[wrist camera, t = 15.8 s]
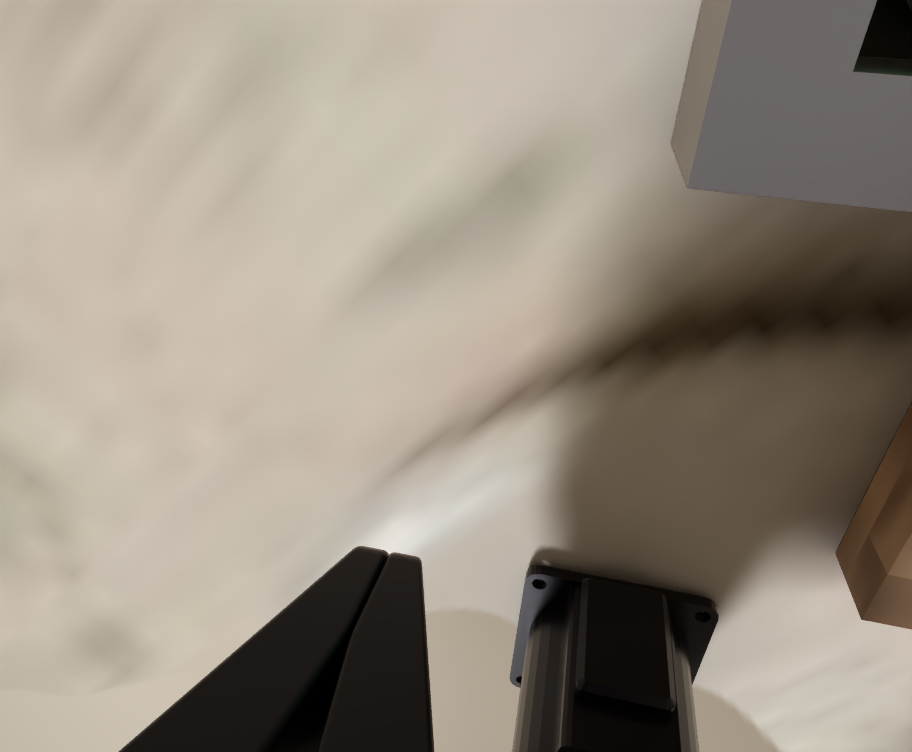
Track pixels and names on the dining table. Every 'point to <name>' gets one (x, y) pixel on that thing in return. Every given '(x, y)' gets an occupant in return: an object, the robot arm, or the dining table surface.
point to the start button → (911, 1)
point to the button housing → (795, 106)
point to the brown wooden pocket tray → (883, 539)
